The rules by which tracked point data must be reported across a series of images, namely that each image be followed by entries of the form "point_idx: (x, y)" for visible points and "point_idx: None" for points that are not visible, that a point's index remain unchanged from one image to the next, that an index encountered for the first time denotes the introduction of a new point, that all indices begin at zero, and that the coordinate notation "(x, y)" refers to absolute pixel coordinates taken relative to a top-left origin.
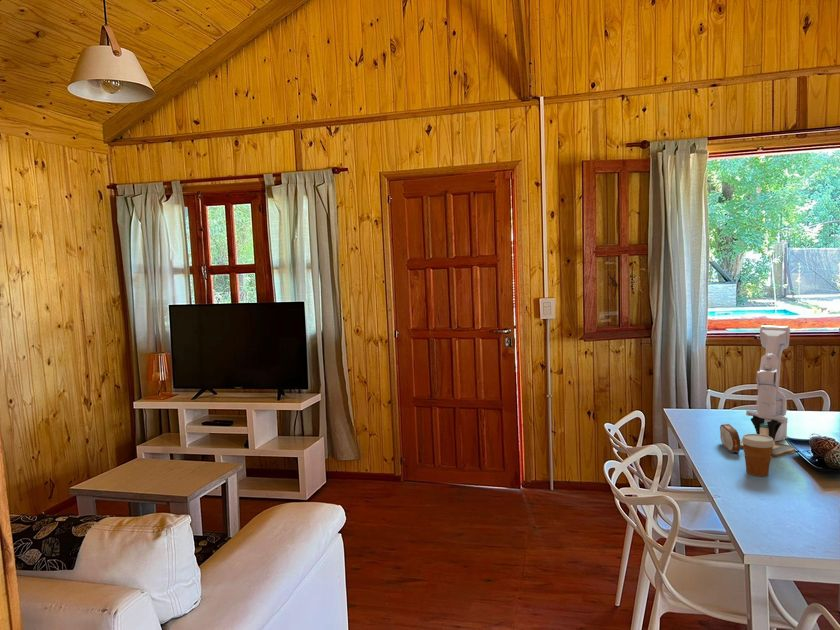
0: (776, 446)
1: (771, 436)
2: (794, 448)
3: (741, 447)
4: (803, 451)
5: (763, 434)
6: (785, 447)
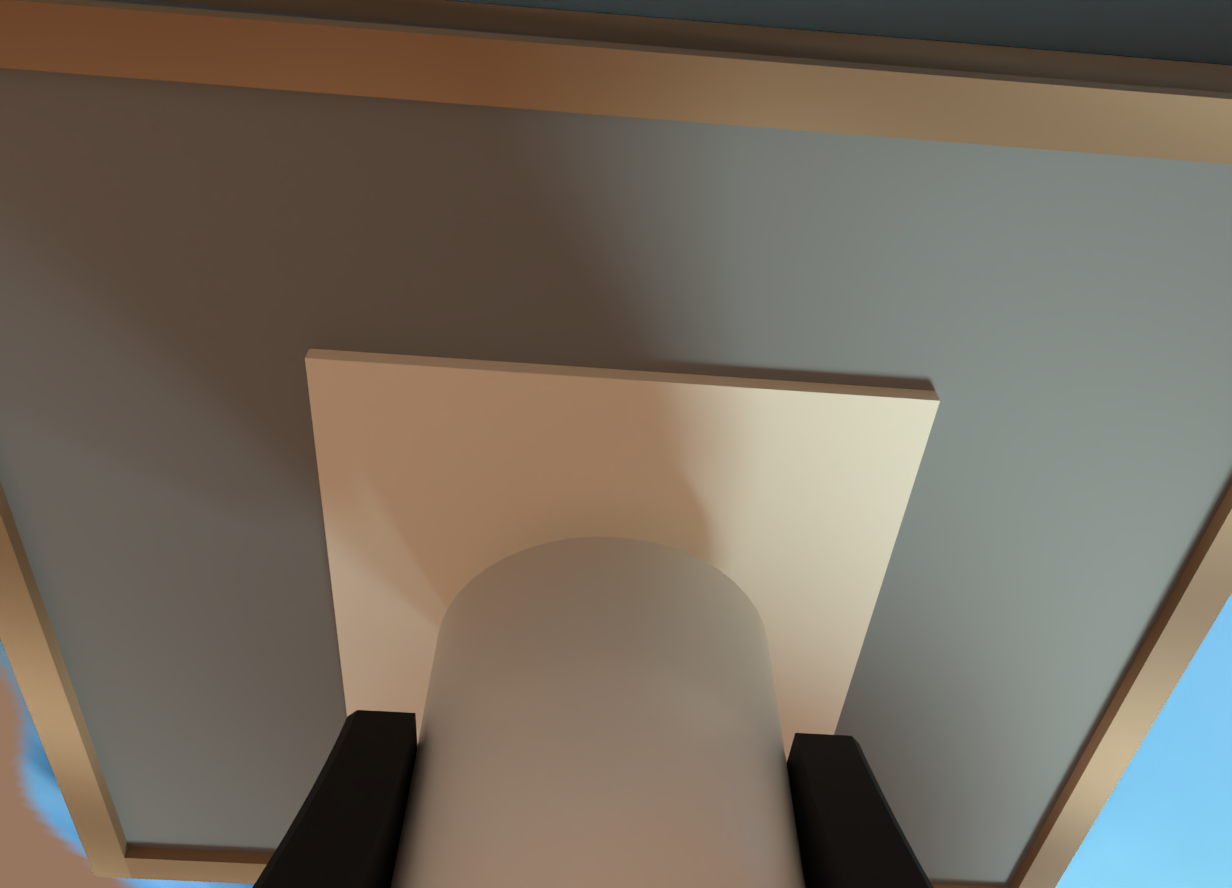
0: (393, 697)
1: (284, 842)
2: (97, 809)
3: (1137, 71)
4: (80, 844)
5: (569, 827)
6: (270, 771)
